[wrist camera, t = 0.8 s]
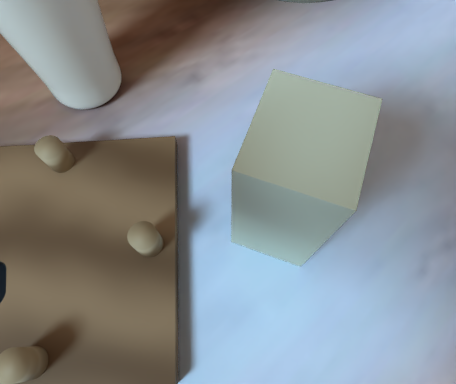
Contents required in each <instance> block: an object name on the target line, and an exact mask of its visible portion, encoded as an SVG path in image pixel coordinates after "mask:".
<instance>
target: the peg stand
mask: <svg viewBox="0 0 456 384" xmlns="http://www.w3.org/2000/svg"><path fill="white" fill-rule="evenodd" d="M0 261H1V262H3V263H5V265H6V269H7V271H6V294H5V296H4V298H3V300H2V302H1V303H0V384H177V383H178V223H177V142H176V138H175V136H172V137H155V138H139V139H122V140H105V141H88V142H71V143H62V142H61V141H60V140H59V139H58V138H57V137H55V136H45V137H42V138H41V139H39V140H38V141H37V143H36V144H35V145H20V146H4V147H0Z"/></svg>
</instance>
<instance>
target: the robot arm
mask: <svg viewBox="0 0 456 384" xmlns="http://www.w3.org/2000/svg"><path fill="white" fill-rule="evenodd" d="M6 271H7V269H6V265H5V263H3V262H1V261H0V303H1V302H2V300H3V298H4V296H5V294H6Z"/></svg>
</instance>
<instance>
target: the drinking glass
mask: <svg viewBox="0 0 456 384" xmlns="http://www.w3.org/2000/svg"><path fill="white" fill-rule="evenodd" d="M0 34H1V35H2V36H3V37H4V38H5V39H6V40H7V42H8V43H9V44H10V45H11V46H12V47H13V48H14V49H15V50H16V52H17V53H18V54H19V55H20V56H21V57H22V58H23V59H24V61H25V62H26V63H27V64H28V65H29V66H30V67H31V68H32V70H33V71H34V72H35V73H36V74H37V75H38V76H39V77H40V79H41V80H42V81H43V82H44V83H45V85H46V86H47V87H48V89H49V90H50V91H51V93H52V94H53V95H54V97H55V98H56V99H57V100H58V101H59V102H61V103H62V104H64V105H66V106H68V107H70V108H74V109H91V108H95V107H98V106H101V105H103V104H104V103H106V102H108V101H109V100H110V99H111V98H112V97H113V96H114V95H115V94H116V93H117V91H118V89H119V87H120V84H121V78H122V76H121V70H120V67H119V64H118V62H117V59H116V57H115V54H114V52H113V49H112V46H111V42H110V39H109V36H108V33H107V29H106V26H105V23H104V20H103V16H102V13H101V10H100V6H99V3H98V0H0Z"/></svg>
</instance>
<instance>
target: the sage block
mask: <svg viewBox="0 0 456 384" xmlns="http://www.w3.org/2000/svg"><path fill="white" fill-rule="evenodd" d="M381 103H382V99H381V98H377V97H373V96H370V95H366V94H362V93H359V92H355V91H352V90H348V89H344V88H341V87H337V86H333V85H330V84H326V83H323V82H319V81H315V80H312V79H308V78H304V77H301V76H297V75H294V74H290V73H286V72H283V71H279V70H275V69H273V71H272V73H271V76H270V78H269V81H268V83H267V85H266V88H265V90H264V93H263V95H262V98H261V100H260V103H259V105H258V107H257V110H256V112H255V115H254V117H253V120H252V122H251V125H250V127H249V129H248V132H247V134H246V137H245V139H244V142H243V144H242V146H241V149H240V151H239V154H238V156H237V159H236V161H235V164H234V166H233V168H232V215H231V242H232V243H235V244H238V245H241V246H243V247H246V248H249V249H252V250H255V251H257V252H260V253H263V254H266V255H268V256H271V257H274V258H277V259H280V260H282V261H285V262H288V263H291V264H293V265H296V266H299V267H301V266H302V265H303V264H304V263H305V262H306V261H307V260H308V259H309V258H310V257H311V256H312V255H313V254H314V253H315V252H316V251H317V250H318V249H319V248H320V247H321V246H322V245H323V244H324V243H325V242H326V241H327V240H328V239H329V238H330V237H331V236H332V235H333V234H334V233H335V232H336V231H337V230H338V229H339V228H340V227H341V226H342V225H343V224H344V223H345V222H346V221H347V220H348V219H349V218H350V217H351V216H352V215H353V214H354V213H355V212H356V209H357V205H358V201H359V196H360V192H361V188H362V184H363V179H364V175H365V171H366V167H367V162H368V158H369V154H370V150H371V145H372V141H373V137H374V133H375V128H376V124H377V120H378V116H379V111H380V107H381Z"/></svg>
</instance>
